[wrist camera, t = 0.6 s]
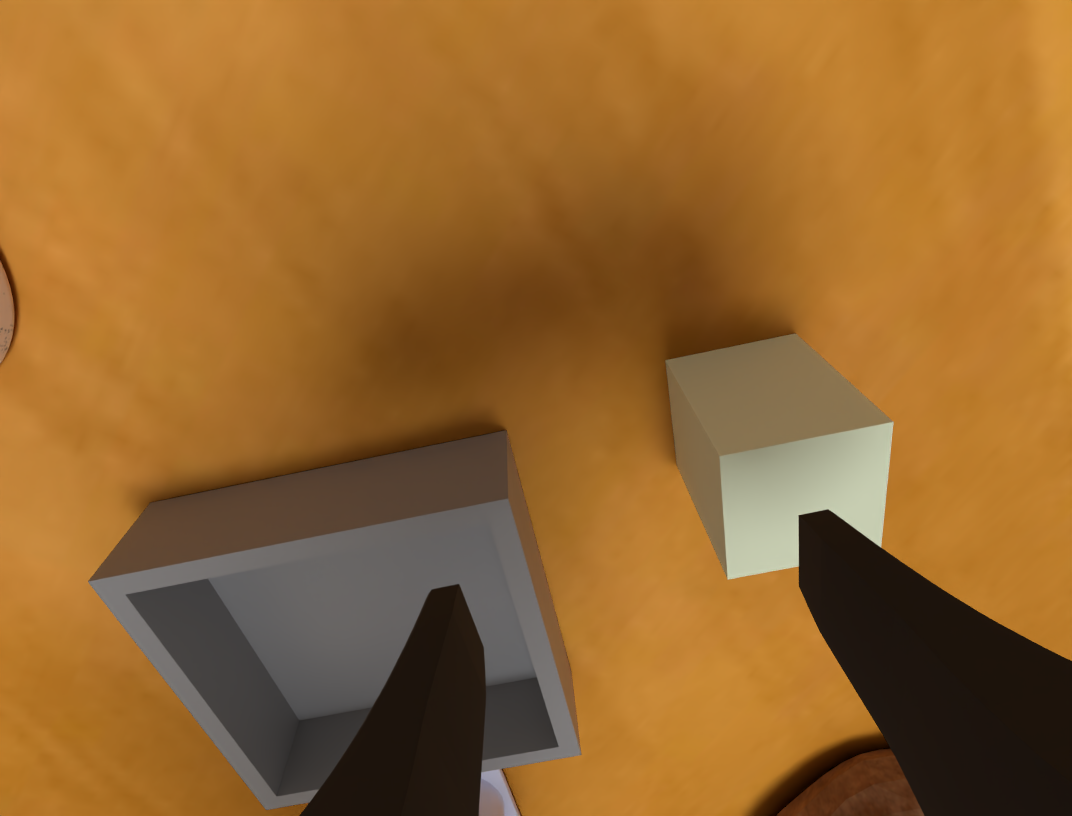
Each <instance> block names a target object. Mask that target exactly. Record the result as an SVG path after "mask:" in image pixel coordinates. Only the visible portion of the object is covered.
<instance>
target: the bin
mask: <svg viewBox="0 0 1072 816" xmlns="http://www.w3.org/2000/svg"><path fill="white" fill-rule="evenodd" d="M88 582H89V584H90V585H91V586H92V588H93V589H94V590H95V591H96V593H97V594H98V595H99V596H100V598H101V599H102V600H103V602H104V603H105V604H106V605H107V607H108V608H109V609H110V611H111V612H112V613H113V614H114V616H115V617H116V618H117V620H118V621H119V622H120V623H121V625H122V626H123V627H124V629H125V630H126V631H127V632H128V634H129V635H130V636H131V637H132V639H133V640H134V641H135V643H136V644H137V645H138V646H139V648H140V649H141V650H142V652H143V653H144V654H145V655H146V657H147V658H148V659H149V661H150V662H151V663H152V664H153V666H154V667H155V668H156V669H157V671H158V672H159V673H160V675H161V676H162V677H163V678H164V680H165V681H166V682H167V684H168V685H169V686H170V687H171V689H172V690H173V691H174V693H175V694H176V695H177V696H178V698H179V699H180V700H181V702H182V703H183V704H184V705H185V707H186V708H187V709H188V710H189V712H190V713H191V714H192V716H193V717H194V718H195V719H196V721H197V722H198V723H199V725H200V726H201V727H202V728H203V730H204V731H205V732H206V734H207V735H208V736H209V737H210V739H211V740H212V741H213V743H214V744H215V745H216V746H217V748H218V749H219V750H220V751H221V753H222V754H223V755H224V757H225V758H226V759H227V760H228V762H229V763H230V764H231V766H232V767H233V768H234V769H235V771H236V772H237V773H238V775H239V776H240V777H241V778H242V780H243V781H244V782H245V783H246V785H247V786H248V787H249V789H250V790H251V791H252V792H253V794H254V795H255V796H256V798H257V799H258V800H259V801H260V803H261V804H262V805H263V807H264V808H265V809H266V810H269V809H275V808H280V807H286V806H292V805H298V804H303V803H309V802H310V801H311V800H312V798H313V797H314V796H315V794H316V793H317V791H318V790H319V789H320V787H321V786H322V785H323V783H324V782H325V780H326V779H327V778H328V776H329V775H330V773H331V772H332V771H333V769H334V768H335V766H336V765H337V763H338V762H339V760H340V759H341V757H342V756H343V754H344V753H345V751H346V750H347V748H348V747H349V745H350V743H351V742H352V740H353V739H354V737H355V735H356V734H357V732H358V731H359V729H360V727H361V726H362V724H363V722H364V721H365V719H366V717H367V715H368V714H369V712H370V710H371V708H372V707H373V705H374V703H375V701H376V700H377V698H378V696H379V694H380V692H381V691H382V689H383V687H384V685H385V683H386V682H387V680H388V678H389V676H390V674H391V672H392V670H393V668H394V666H395V664H396V662H397V660H398V658H399V656H400V654H401V652H402V650H403V648H404V646H405V644H406V642H407V640H408V638H409V636H410V633H411V631H412V629H413V627H414V625H415V623H416V620H417V618H418V616H419V614H420V611H421V609H422V607H423V605H424V602H425V600H426V598H427V595H428V594H429V592H430V591H431V589H436V588H440V587H445V586H450V585H455V584H459V585H460V587H461V590H462V592H463V595H464V597H465V600H466V603H467V605H468V608H469V610H470V613H471V615H472V618H473V621H474V623H475V626H476V628H477V631H478V634H479V636H480V639H481V641H482V644H483V646H484V658H485V677H486V709H485V725H484V741H483V756H482V771H481V772H486V771H492V770H498V769H504V768H509V767H515V766H521V765H526V764H532V763H538V762H544V761H549V760H555V759H561V758H567V757H572V756H578V755H581V748H580V739H579V731H578V723H577V715H576V706H575V698H574V690H573V682H572V673H571V669H570V665H569V661H568V657H567V654H566V650H565V646H564V643H563V639H562V635H561V631H560V628H559V624H558V620H557V616H556V613H555V609H554V605H553V602H552V598H551V594H550V590H549V587H548V583H547V579H546V575H545V572H544V568H543V564H542V561H541V557H540V553H539V549H538V546H537V542H536V538H535V534H534V531H533V527H532V523H531V520H530V516H529V512H528V508H527V505H526V501H525V497H524V493H523V490H522V486H521V482H520V479H519V475H518V471H517V467H516V464H515V460H514V456H513V452H512V449H511V445H510V441H509V438H508V434H507V430H505V431H500V432H495V433H490V434H486V435H481V436H476V437H471V438H466V439H461V440H456V441H451V442H446V443H441V444H436V445H432V446H427V447H422V448H417V449H412V450H407V451H402V452H397V453H392V454H387V455H382V456H378V457H373V458H368V459H363V460H358V461H353V462H348V463H343V464H338V465H333V466H328V467H324V468H319V469H314V470H309V471H304V472H299V473H294V474H289V475H284V476H279V477H274V478H270V479H265V480H260V481H255V482H250V483H245V484H240V485H235V486H230V487H225V488H220V489H216V490H211V491H206V492H201V493H196V494H191V495H186V496H181V497H176V498H171V499H166V500H162V501H157V502H152V503H150V504H149V505H148V506H147V507H146V509H145V510H144V511H143V513H142V514H141V515H140V516H139V518H138V519H137V520H136V521H135V523H134V524H133V525H132V526H131V528H130V529H129V530H128V532H127V533H126V534H125V535H124V537H123V538H122V539H121V540H120V542H119V543H118V544H117V545H116V547H115V548H114V549H113V551H112V552H111V553H110V554H109V556H108V557H107V558H106V559H105V561H104V562H103V563H102V564H101V566H100V567H99V568H98V569H97V571H96V572H95V573H94V575H93V576H92V577H91V578H90V580H89V581H88Z"/></svg>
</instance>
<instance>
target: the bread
mask: <svg viewBox="0 0 1072 816" xmlns="http://www.w3.org/2000/svg"><path fill="white" fill-rule="evenodd" d="M776 816H924V814H923V812H922V810H921V808H920V806H919V804H918V802H917V800H916V798H915V795H914V793H913V791H912V789H911V787H910V785H909V783H908V781H907V779H906V777H905V775H904V773H903V771H902V769H901V767H900V765H899V763H898V761H897V759H896V757H895V756H894V754H893V752H892V750H891V749H881V750H876V751H872V752H867V753H863V754H859V755H857V756H855V757H853V758H851V759H849V760H846V761H844V762H842V763H841V764H839V765H838V766H836V767H835V768H833V769H832V770H830V771H829V772H827V773H826V774H824V775H823V776H822V777H821V778H819V779H818V780H817V781H816V782H814V783H813V784H812V785H811V786H809V787H808V788H807V789H806V790H805V791H803V792H802V793H801V794H800V795H799V796H798V797H796V798H795V799H794V800H793V801H792V802H791V803H789V804H788V805H787V806H786V807H785V808H784V809H783V810H781V811H780V812H779V813H778V814H777V815H776Z"/></svg>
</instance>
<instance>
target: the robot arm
mask: <svg viewBox="0 0 1072 816" xmlns="http://www.w3.org/2000/svg"><path fill="white" fill-rule="evenodd" d="M798 517H799V587H800V589H801V592H802V594H803V596H804V598H805V600H806V603H807V605H808V607H809V609H810V612H811V614H812V616H813V618H814V620H815V622H816V624H817V626H818V629H819V631H820V633H821V634H822V636H823V638H824V639H825V641H826V643H827V644H828V646H829V648H830V649H831V651H832V653H833V654H834V656H835V658H836V659H837V661H838V662H839V664H840V666H841V667H842V669H843V671H844V672H845V674H846V676H847V677H848V679H849V680H850V682H851V684H852V685H853V687H854V689H855V690H856V692H857V693H858V695H859V697H860V698H861V700H862V702H863V703H864V705H865V706H866V708H867V710H868V711H869V713H870V715H871V716H872V718H873V720H874V721H875V723H876V724H877V726H878V728H879V729H880V731H881V733H882V734H883V736H884V738H885V740H886V741H887V743H888V745H889V747H890V748H891V750H892V752H893V754H894V756H895V757H896V759H897V761H898V763H899V765H900V767H901V769H902V771H903V773H904V775H905V777H906V779H907V781H908V783H909V785H910V787H911V789H912V791H913V793H914V795H915V798H916V800H917V802H918V804H919V806H920V808H921V810H922V812H923V814H924V816H1072V661H1070V660H1068V659H1066V658H1064V657H1062V656H1060V655H1058V654H1056V653H1054V652H1052V651H1050V650H1048V649H1046V648H1044V647H1042V646H1040V645H1038V644H1036V643H1034V642H1032V641H1031V640H1029V639H1027V638H1025V637H1023V636H1021V635H1019V634H1017V633H1016V632H1014V631H1012V630H1010V629H1008V628H1006V627H1004V626H1003V625H1001V624H999V623H997V622H995V621H994V620H992V619H990V618H988V617H987V616H985V615H983V614H981V613H980V612H978V611H976V610H975V609H973V608H971V607H970V606H968V605H967V604H965V603H963V602H962V601H960V600H958V599H957V598H955V597H954V596H952V595H950V594H949V593H947V592H946V591H944V590H943V589H941V588H939V587H938V586H936V585H935V584H933V583H932V582H930V581H929V580H927V579H926V578H924V577H923V576H921V575H920V574H918V573H917V572H915V571H914V570H913V569H911V568H910V567H908V566H907V565H905V564H904V563H902V562H901V561H899V560H898V559H896V558H895V557H894V556H892V555H891V554H889V553H888V552H887V551H885V550H884V549H882V548H881V547H880V546H878V545H877V544H875V543H874V542H873V541H871V540H870V539H869V538H867V537H866V536H865V535H863V534H862V533H860V532H859V531H858V530H856V529H855V528H854V527H852V526H851V525H850V524H848V523H847V522H846V521H844V520H843V519H842V518H840V517H839V516H837V515H836V514H835V513H833V512H832V511H830V510H829V509H827V510H822V511H817V512H812V513H807V514H802V515H798ZM485 709H486V677H485V658H484V646H483V644H482V641H481V639H480V636H479V634H478V631H477V628H476V626H475V623H474V621H473V618H472V615H471V613H470V610H469V608H468V605H467V603H466V600H465V597H464V595H463V592H462V590H461V587H460V585H459V584H455V585H450V586H445V587H440V588H436V589H431V591H430V592H429V594H428V595H427V598H426V600H425V602H424V605H423V607H422V609H421V611H420V614H419V616H418V618H417V620H416V623H415V625H414V627H413V629H412V631H411V633H410V636H409V638H408V640H407V642H406V644H405V646H404V648H403V650H402V652H401V654H400V656H399V658H398V660H397V662H396V664H395V666H394V668H393V670H392V672H391V674H390V676H389V678H388V680H387V682H386V683H385V685H384V687H383V689H382V691H381V692H380V694H379V696H378V698H377V700H376V701H375V703H374V705H373V707H372V708H371V710H370V712H369V714H368V715H367V717H366V719H365V721H364V722H363V724H362V726H361V727H360V729H359V731H358V732H357V734H356V735H355V737H354V739H353V740H352V742H351V743H350V745H349V747H348V748H347V750H346V751H345V753H344V754H343V756H342V757H341V759H340V760H339V762H338V763H337V765H336V766H335V768H334V769H333V771H332V772H331V773H330V775H329V776H328V778H327V779H326V780H325V782H324V783H323V785H322V786H321V787H320V789H319V790H318V791H317V793H316V794H315V796H314V797H313V798H312V800H311V801H310V803H309V804H308V805H307V807H306V808H305V809H304V811H303V812H302V813H301V814H300V816H520V813H519V811H518V808H517V806H516V803H515V801H514V798H513V796H512V793H511V791H510V788H509V786H508V783H507V781H506V779H505V776H504V774H503V771H502V769H498V770H492V771H486V772H481V771H482V756H483V741H484V725H485Z"/></svg>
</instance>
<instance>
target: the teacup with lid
mask: <svg viewBox="0 0 1072 816" xmlns="http://www.w3.org/2000/svg"><path fill="white" fill-rule="evenodd" d="M13 330H14V303H13V297H12V293H11V288H10V285H9V282H8V279H7V275H6V273H5V270H4V268H3V266H2V263H1V261H0V363H1V362H2V361H3V359H4V357H5V355H6V353H7V351H8V349H9V346H10V343H11V339H12V336H13Z"/></svg>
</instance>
